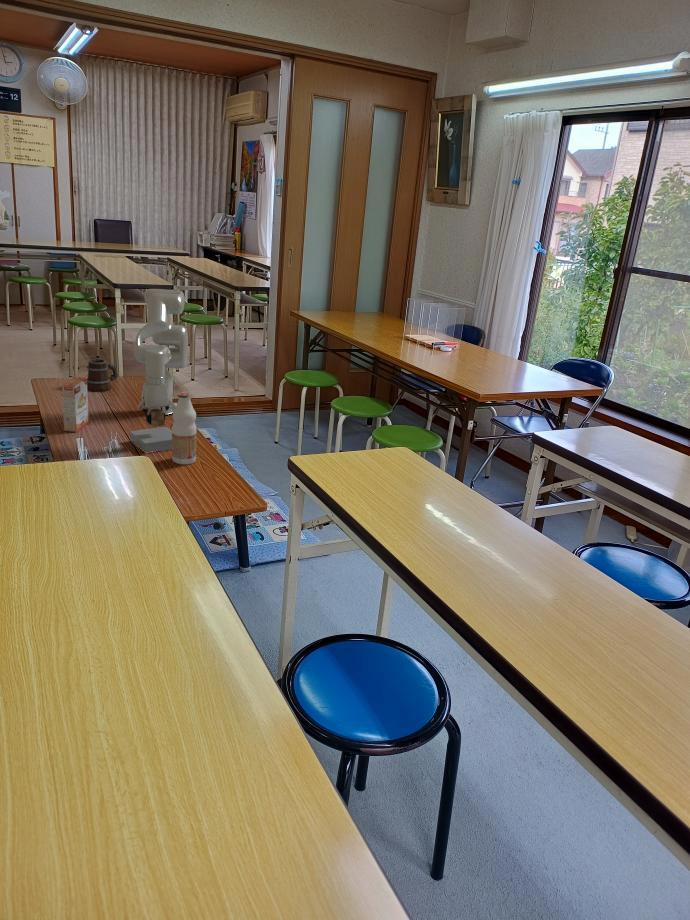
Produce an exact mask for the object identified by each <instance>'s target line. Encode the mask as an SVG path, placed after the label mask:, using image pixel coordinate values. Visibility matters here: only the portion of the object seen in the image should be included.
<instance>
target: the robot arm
mask: <svg viewBox="0 0 690 920" xmlns="http://www.w3.org/2000/svg"><path fill="white" fill-rule="evenodd" d="M143 293H144V294H143V297H144V302H145V303H146V304H145V305H146V306H147V321H146V324H145V325H143V327H142V328H141V329H140V330H139V331H138V333H137V334H136V337H135V340H134V351H133V352H134V359H135V361H136V362H137V363H138V364H139V363H140V364H144V367H145V382H143V385H142V389H141V401H140V402H139V404H138V405H137V408H138V409H139V410H140V411H143V413H144V414H145V421H146V423H147V424H148V423H149V424H151V415H150V412H151V409H156V408H159V409H161V410H162V411H164V421H165V420H166V416H165V415H168V416H170V415H169V414H172V413H173V411H174V410H175V408H176V406H177V403H178V402H173V375H172V374H171V372H170V371H169V370H168V369H185V368H186V367H187V365H188V361H189V360H188V359H189V355H188V354H189V352H188V351H189V349H188V346H189V345H188V341H189V340H188V339H189V338H188V337H189V336H188V331H187V328H186V326H183V325H181V324H180V325H179V324H172V323H171V321H172V320H171V317H172V316H171V315H182V313H183V312H184V309H185V302H186V299H185V294H184V292H183V291H182V290H176V289H164V288H149V289H148V288H147V289H146V290H145V291H144V292H143ZM151 337H152V342H153V343H154V344H143V343H144V341H145V340H147V339H149V338H151ZM169 346H170V347H169ZM172 346H173V347H172ZM149 424H148V425H149Z"/></svg>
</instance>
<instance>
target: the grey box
mask: <svg viewBox="0 0 690 920" xmlns="http://www.w3.org/2000/svg"><path fill="white" fill-rule="evenodd" d="M129 437H130V438H129V439H130V441H131V442H130V443H132V442H133V443H134V444H136V445H137V446H139V447H140V448H141V449H143V450H144V451H145V452H150V451H161V452H167V451H166V450H168V451H172V429H170V428H169V427H167V426H158V427H152V428H147V429H146V428H145V429H138V430H136V429H135V430H130V431H129ZM133 443H132V444H133ZM134 444H133V445H134Z"/></svg>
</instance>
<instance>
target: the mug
mask: <svg viewBox="0 0 690 920" xmlns="http://www.w3.org/2000/svg"><path fill="white" fill-rule="evenodd" d="M86 369H87V377H86V378H87V392H88V391H89V392H92V393H93V392H94V393H103V392H108V391H110V390H111V388H112V387H111V383H110V382H111V381H112V382H114V381H115V380H117V378H118V374H117V367H116V366H115V365H114V364H113V363H112V364H111V363H109V364H107V362H106V360H105V359H100V358H97V359H96V358H95V359H90V360H89V362H88V365H87V366H86ZM108 370H111V372H112V375H111V376H109V372H108Z"/></svg>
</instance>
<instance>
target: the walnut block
mask: <svg viewBox="0 0 690 920" xmlns="http://www.w3.org/2000/svg"><path fill="white" fill-rule="evenodd" d="M150 415H151V424H149V423H147V424H148V425H149V426H151V427H152V428H156V427H164V426H165V420H164V411H162V410H161V409H159V408H156V409H151V412H150Z"/></svg>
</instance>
